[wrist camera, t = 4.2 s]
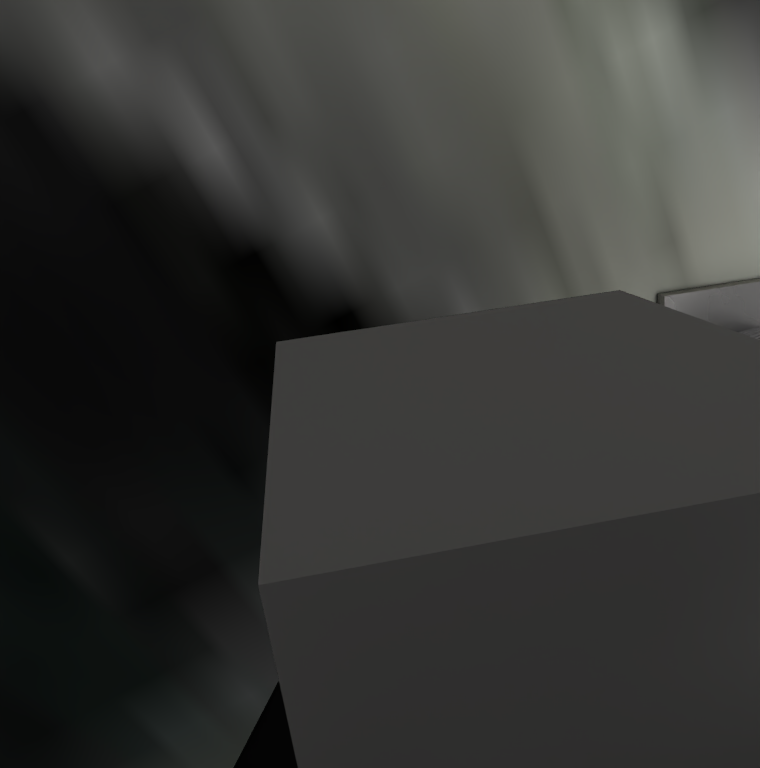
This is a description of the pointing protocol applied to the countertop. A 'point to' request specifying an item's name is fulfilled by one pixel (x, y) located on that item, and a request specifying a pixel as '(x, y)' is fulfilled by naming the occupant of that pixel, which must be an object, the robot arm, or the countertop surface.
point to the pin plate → (719, 304)
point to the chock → (517, 540)
